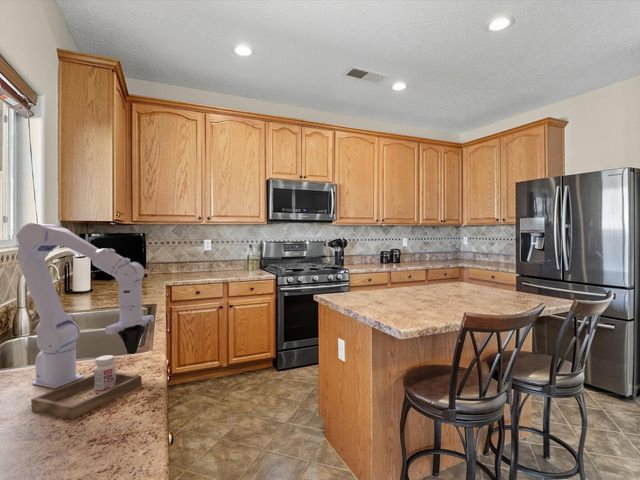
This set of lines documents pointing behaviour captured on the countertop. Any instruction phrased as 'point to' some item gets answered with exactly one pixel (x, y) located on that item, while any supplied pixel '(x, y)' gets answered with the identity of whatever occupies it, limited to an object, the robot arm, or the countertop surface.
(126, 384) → the walnut frame
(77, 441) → the countertop surface
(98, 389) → the pill bottle
